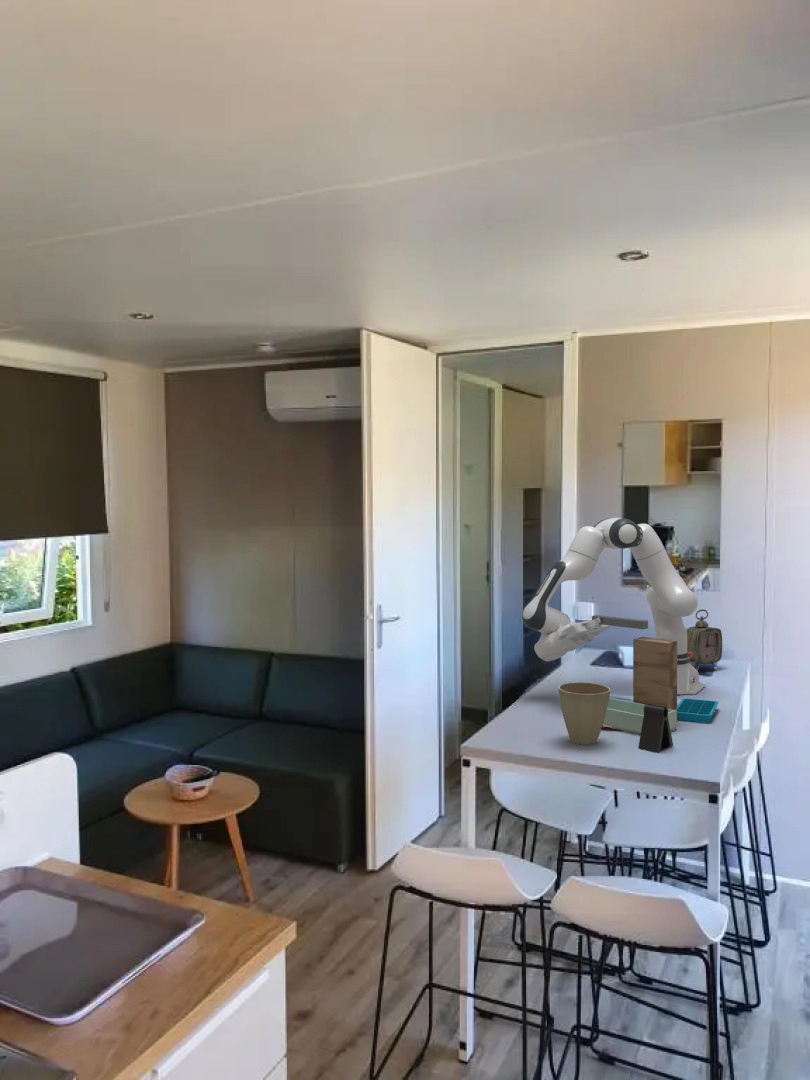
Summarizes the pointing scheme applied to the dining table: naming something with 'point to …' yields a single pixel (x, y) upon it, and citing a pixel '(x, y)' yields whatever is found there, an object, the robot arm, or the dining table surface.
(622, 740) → the dining table surface
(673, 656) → the walnut stand
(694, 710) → the ice cube tray
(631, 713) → the green tray
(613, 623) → the gray rectangular bar
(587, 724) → the plant pot
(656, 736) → the phone stand
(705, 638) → the tabletop clock
